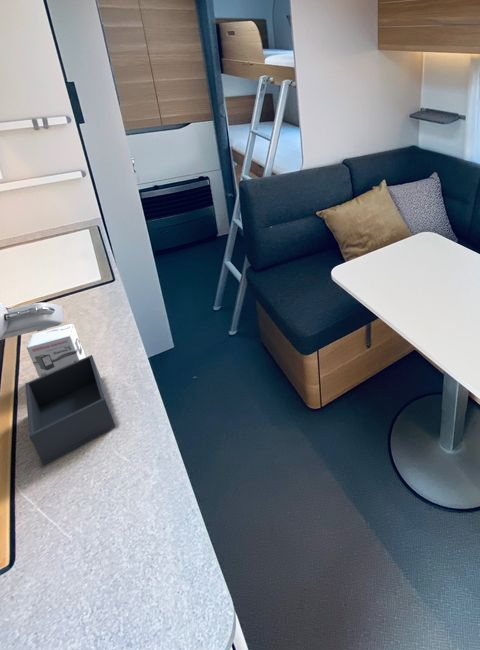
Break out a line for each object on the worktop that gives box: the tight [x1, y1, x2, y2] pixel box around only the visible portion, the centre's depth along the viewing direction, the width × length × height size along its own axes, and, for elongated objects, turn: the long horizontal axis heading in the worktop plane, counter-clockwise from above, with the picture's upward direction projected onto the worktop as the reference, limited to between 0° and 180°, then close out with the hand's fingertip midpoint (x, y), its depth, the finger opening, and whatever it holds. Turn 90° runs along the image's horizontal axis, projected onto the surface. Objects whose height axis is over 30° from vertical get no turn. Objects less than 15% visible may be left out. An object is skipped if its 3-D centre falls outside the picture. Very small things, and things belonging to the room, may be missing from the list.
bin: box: [24, 354, 116, 465], centre depth 86 cm, size 16×12×8 cm
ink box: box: [25, 323, 87, 378], centre depth 97 cm, size 9×5×12 cm, turn 117°
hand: (13, 333), depth 80 cm, fingers open, 8 cm apart
